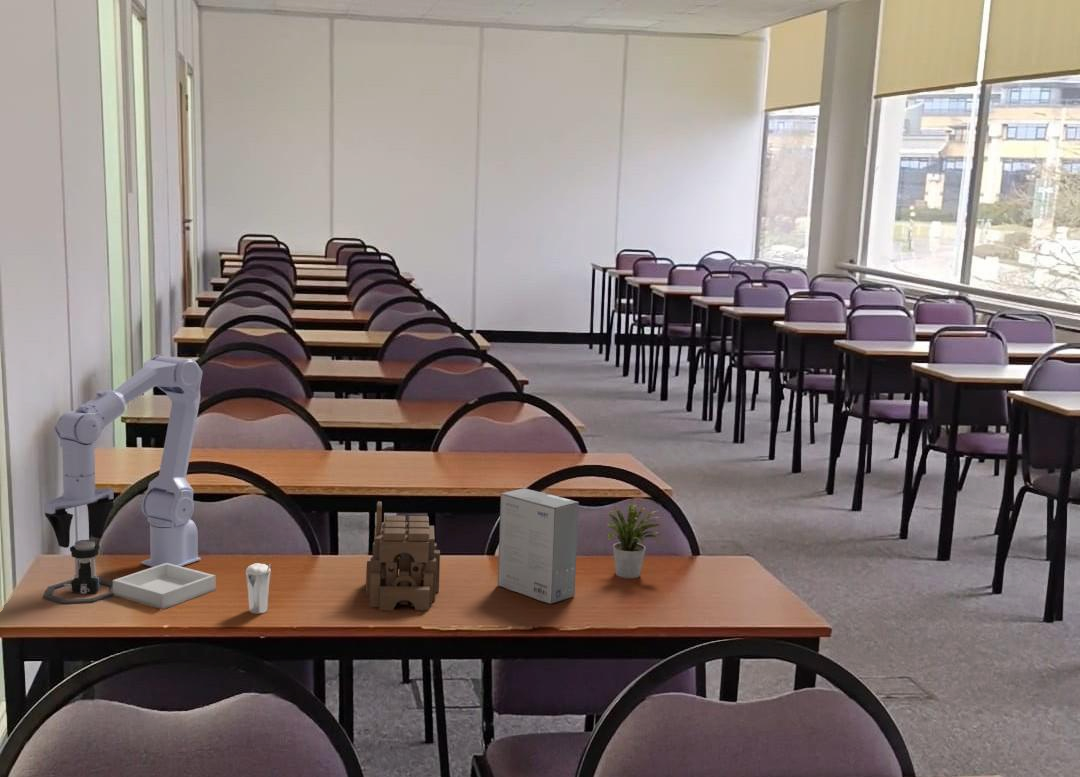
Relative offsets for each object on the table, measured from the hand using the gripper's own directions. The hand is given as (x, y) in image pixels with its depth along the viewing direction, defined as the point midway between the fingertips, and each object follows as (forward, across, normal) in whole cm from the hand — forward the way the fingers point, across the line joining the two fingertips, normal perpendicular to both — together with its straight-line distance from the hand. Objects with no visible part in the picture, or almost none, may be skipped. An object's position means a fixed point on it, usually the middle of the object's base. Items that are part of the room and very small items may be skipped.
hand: (80, 541), depth 222 cm
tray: (+10, -9, +13) cm, 19 cm away
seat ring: (+10, 0, 0) cm, 10 cm away
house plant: (+10, -73, +83) cm, 111 cm away
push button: (+10, 0, 0) cm, 10 cm away
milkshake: (+10, -12, +35) cm, 38 cm away
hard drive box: (+10, -53, +72) cm, 90 cm away
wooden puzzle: (+10, -37, +50) cm, 63 cm away
